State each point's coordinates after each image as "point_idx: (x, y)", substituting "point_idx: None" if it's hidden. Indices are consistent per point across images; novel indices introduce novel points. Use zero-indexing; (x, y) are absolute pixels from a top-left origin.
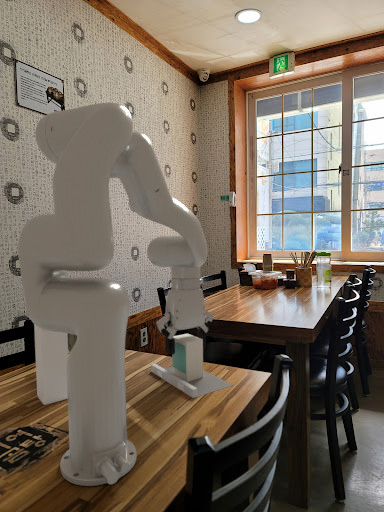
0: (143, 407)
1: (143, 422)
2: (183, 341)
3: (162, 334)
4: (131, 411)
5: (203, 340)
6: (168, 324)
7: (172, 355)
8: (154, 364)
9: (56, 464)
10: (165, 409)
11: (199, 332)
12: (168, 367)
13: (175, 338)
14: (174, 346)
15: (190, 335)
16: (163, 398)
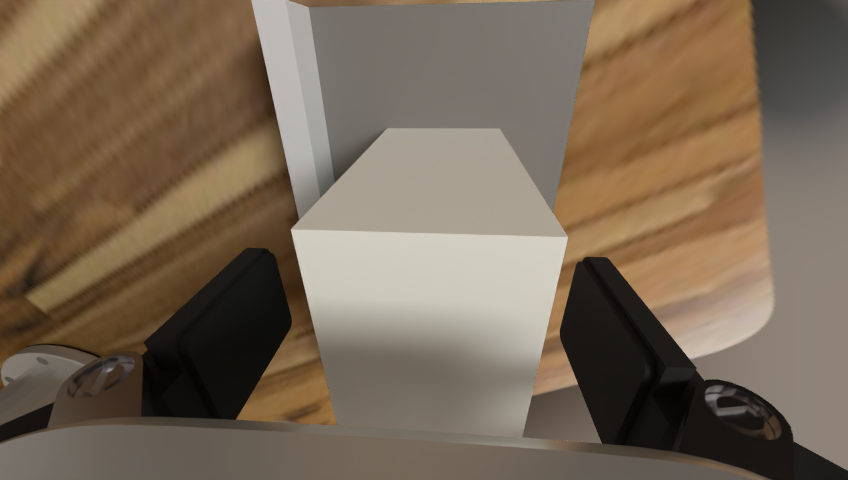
0: (198, 276)
1: None
2: (334, 414)
3: (44, 407)
4: (158, 275)
5: (580, 384)
6: (15, 460)
7: (360, 158)
8: (275, 20)
9: (4, 358)
10: None
11: (630, 401)
12: (413, 8)
13: (310, 298)
14: (262, 367)
15: (522, 326)
16: (279, 263)
